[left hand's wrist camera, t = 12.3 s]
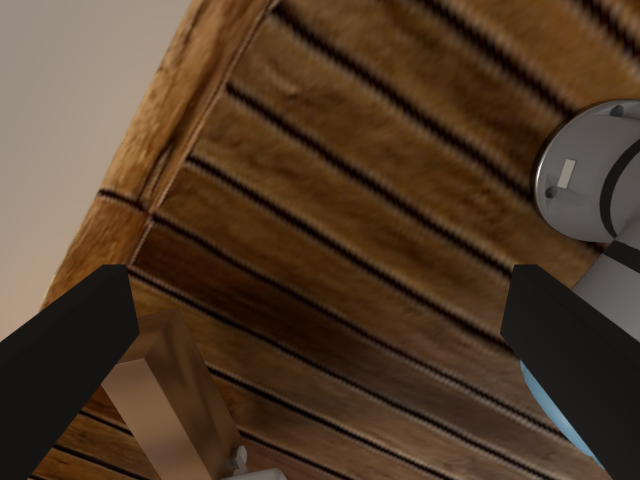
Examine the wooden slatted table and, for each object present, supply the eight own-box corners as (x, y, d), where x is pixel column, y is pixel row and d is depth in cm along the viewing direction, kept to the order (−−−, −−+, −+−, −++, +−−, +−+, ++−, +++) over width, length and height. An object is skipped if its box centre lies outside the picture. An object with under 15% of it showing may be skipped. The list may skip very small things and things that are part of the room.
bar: (135, 318, 42) (91, 370, 34) (177, 307, 42) (143, 358, 34) (212, 458, 51) (192, 527, 43) (248, 451, 50) (235, 519, 42)
